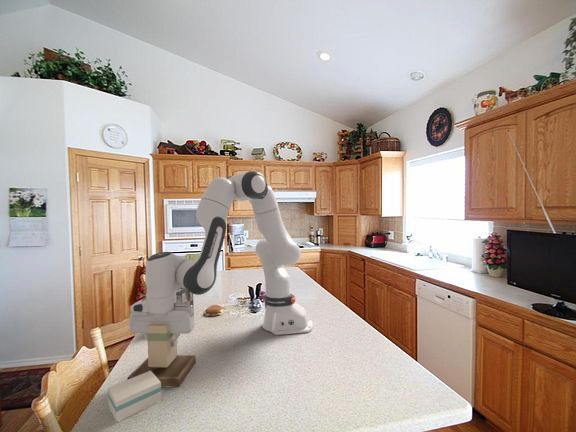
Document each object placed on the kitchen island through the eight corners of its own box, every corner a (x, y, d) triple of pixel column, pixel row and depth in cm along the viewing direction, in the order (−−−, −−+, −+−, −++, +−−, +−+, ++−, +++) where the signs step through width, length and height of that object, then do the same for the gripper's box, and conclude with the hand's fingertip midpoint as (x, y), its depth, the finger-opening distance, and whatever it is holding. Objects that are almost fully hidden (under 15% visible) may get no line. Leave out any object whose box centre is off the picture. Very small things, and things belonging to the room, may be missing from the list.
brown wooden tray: (195, 362, 97) (195, 355, 97) (179, 386, 84) (178, 378, 84) (150, 361, 98) (150, 354, 98) (127, 385, 85) (127, 377, 85)
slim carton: (177, 355, 94) (176, 317, 94) (167, 367, 87) (165, 326, 87) (159, 355, 95) (158, 317, 94) (148, 367, 88) (146, 326, 87)
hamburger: (231, 316, 139) (231, 304, 139) (202, 319, 135) (201, 307, 135) (229, 306, 152) (229, 295, 152) (202, 309, 149) (202, 298, 148)
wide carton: (151, 388, 84) (150, 370, 84) (161, 401, 78) (161, 382, 78) (108, 407, 76) (107, 387, 76) (116, 423, 70) (115, 402, 70)
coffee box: (182, 320, 134) (181, 287, 133) (194, 321, 132) (193, 287, 132) (170, 328, 125) (169, 293, 124) (183, 329, 123) (182, 293, 123)
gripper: (197, 300, 93) (198, 341, 93) (137, 299, 94) (138, 340, 95) (189, 306, 87) (190, 350, 87) (125, 306, 88) (126, 350, 88)
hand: (163, 345), depth 91 cm, fingers closed on slim carton, 6 cm apart
